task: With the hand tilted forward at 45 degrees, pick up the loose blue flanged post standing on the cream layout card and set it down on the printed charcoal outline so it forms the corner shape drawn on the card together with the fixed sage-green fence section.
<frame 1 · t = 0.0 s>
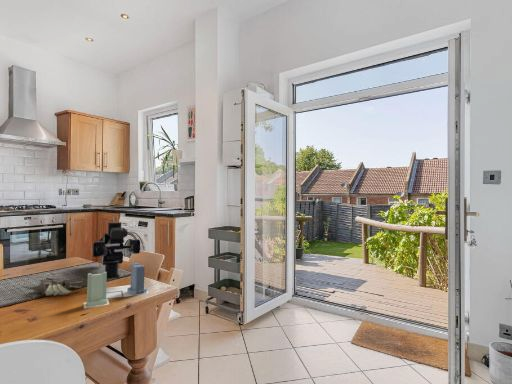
hand: (119, 250, 122), 17 cm above the table, tool horizontal, fingers open, 9 cm apart
blue flanged post: (137, 292, 120), resting on layout card
figurine: (55, 294, 118), on the table
layout card: (122, 292, 121), on the table
fixed fence: (96, 303, 107), resting on layout card
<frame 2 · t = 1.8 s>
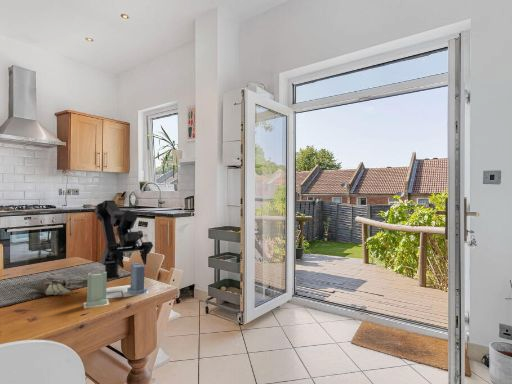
hand: (134, 265, 123), 10 cm above the table, tool tilted 45°, fingers open, 9 cm apart
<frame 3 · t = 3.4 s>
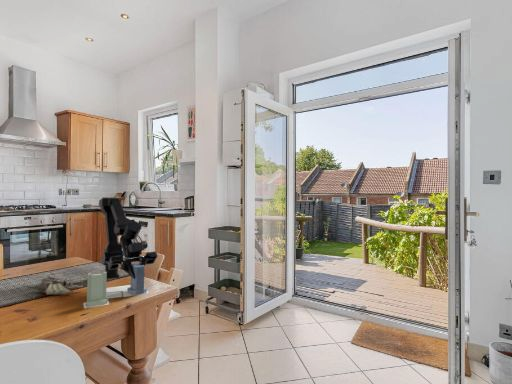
hand: (138, 277, 119), 7 cm above the table, tool tilted 45°, fingers closed on blue flanged post, 3 cm apart
blue flanged post: (137, 292, 120), resting on layout card, touching gripper
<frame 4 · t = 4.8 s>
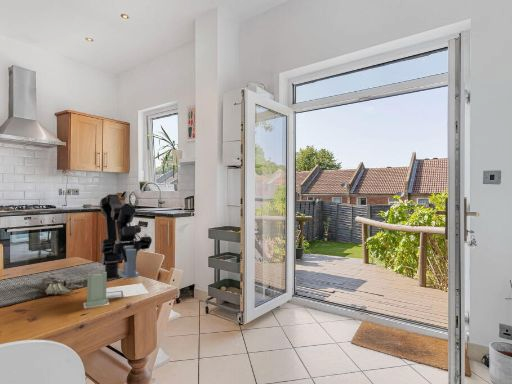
hand: (130, 261, 118), 13 cm above the table, tool tilted 45°, fingers closed on blue flanged post, 3 cm apart
blue flanged post: (129, 276, 119), point 7 cm above the table, touching gripper
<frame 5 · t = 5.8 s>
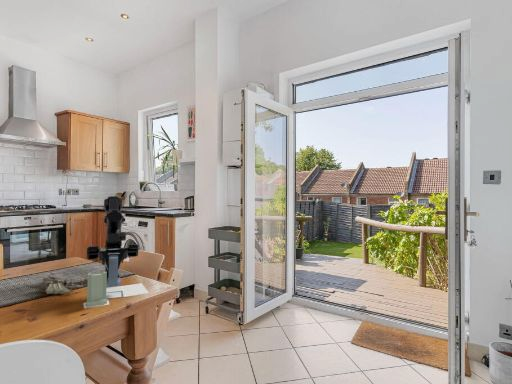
hand: (113, 269, 115), 11 cm above the table, tool tilted 45°, fingers closed on blue flanged post, 3 cm apart
blue flanged post: (112, 284, 116), point 5 cm above the table, touching gripper
when the fingers open (8 cm above the table, at t = 6.5 s): blue flanged post drops 1 cm, resting on layout card.
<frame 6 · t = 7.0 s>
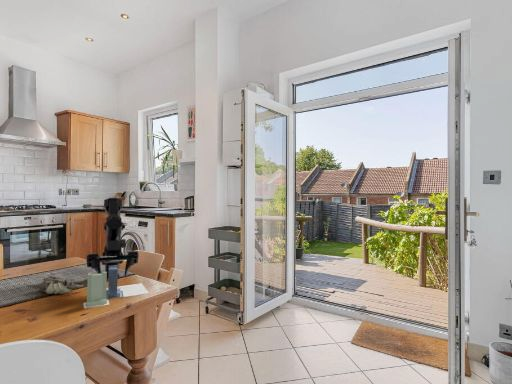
hand: (113, 277, 115), 8 cm above the table, tool tilted 45°, fingers open, 8 cm apart
blue flanged post: (112, 295, 116), resting on layout card
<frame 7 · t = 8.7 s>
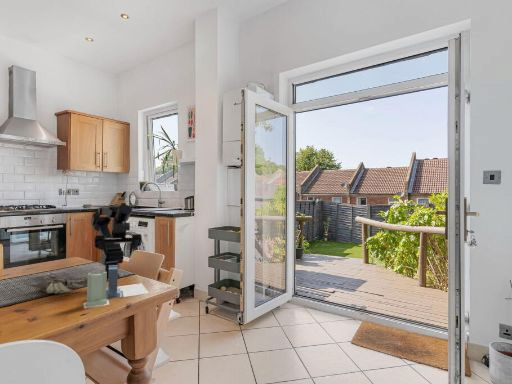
hand: (118, 256, 126), 13 cm above the table, tool tilted 45°, fingers open, 9 cm apart
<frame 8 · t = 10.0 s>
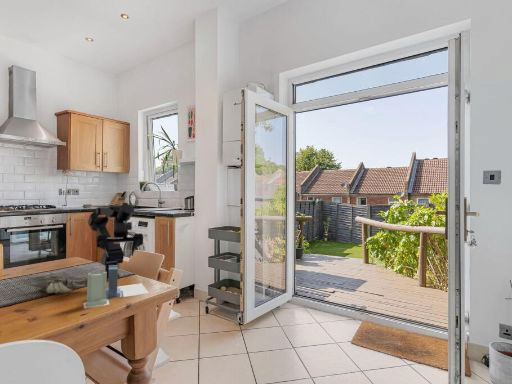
hand: (120, 256, 126), 14 cm above the table, tool tilted 45°, fingers open, 9 cm apart
at the end: blue flanged post 0.0 cm from the target spot, resting on layout card; blue flanged post tilted 0°; the gripper is holding nothing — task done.
